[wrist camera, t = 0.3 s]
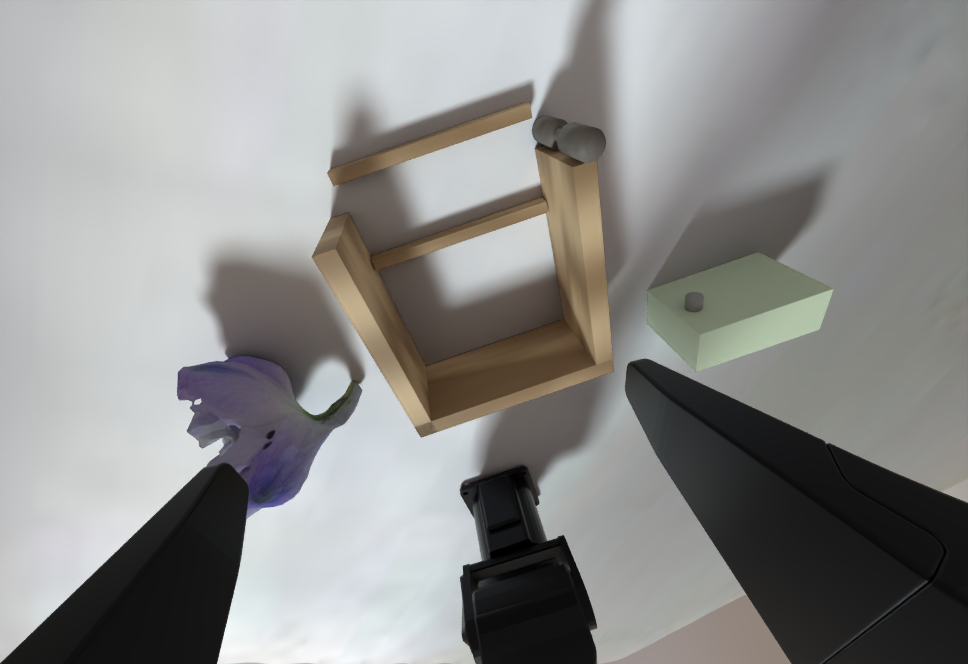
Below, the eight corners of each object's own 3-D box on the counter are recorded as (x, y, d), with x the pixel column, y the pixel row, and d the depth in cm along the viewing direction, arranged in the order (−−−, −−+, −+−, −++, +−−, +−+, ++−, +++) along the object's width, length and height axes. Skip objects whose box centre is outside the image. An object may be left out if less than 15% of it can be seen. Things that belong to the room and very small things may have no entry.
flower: (379, 402, 18) (140, 553, 14) (399, 449, 25) (246, 557, 21) (296, 278, 21) (86, 372, 17) (334, 351, 28) (193, 429, 25)
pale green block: (750, 288, 27) (819, 329, 23) (646, 323, 27) (695, 372, 23) (759, 240, 25) (838, 276, 20) (646, 279, 25) (701, 323, 20)
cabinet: (582, 324, 26) (621, 375, 21) (417, 381, 26) (421, 444, 21) (550, 93, 18) (602, 98, 13) (307, 176, 18) (277, 210, 13)
